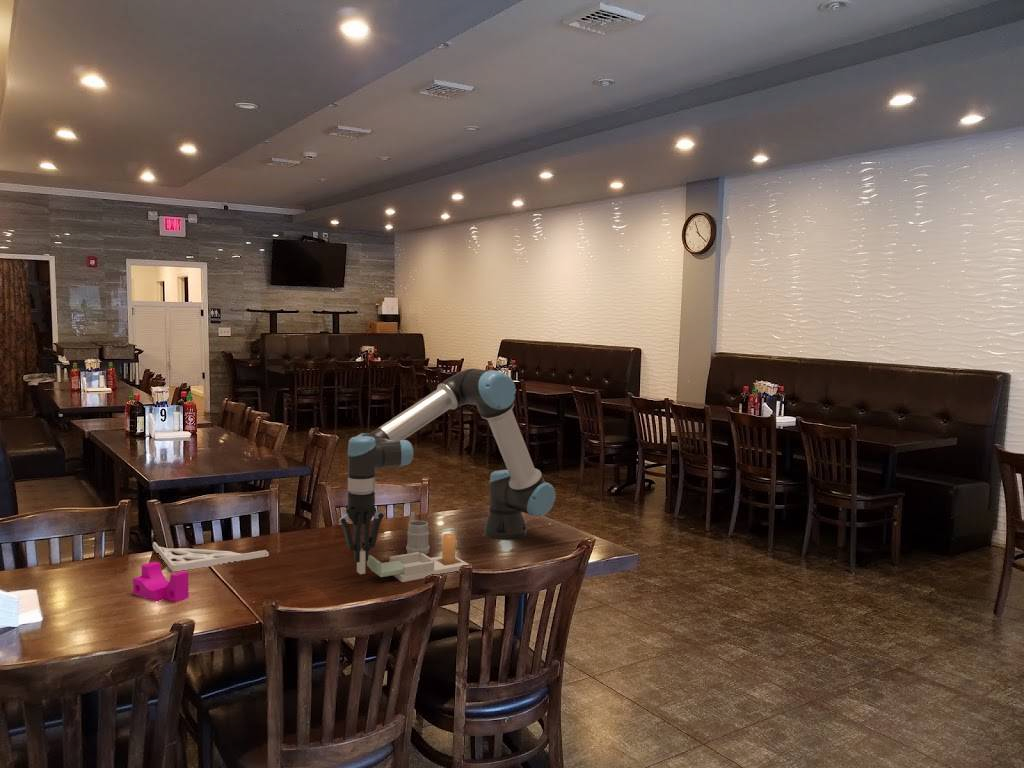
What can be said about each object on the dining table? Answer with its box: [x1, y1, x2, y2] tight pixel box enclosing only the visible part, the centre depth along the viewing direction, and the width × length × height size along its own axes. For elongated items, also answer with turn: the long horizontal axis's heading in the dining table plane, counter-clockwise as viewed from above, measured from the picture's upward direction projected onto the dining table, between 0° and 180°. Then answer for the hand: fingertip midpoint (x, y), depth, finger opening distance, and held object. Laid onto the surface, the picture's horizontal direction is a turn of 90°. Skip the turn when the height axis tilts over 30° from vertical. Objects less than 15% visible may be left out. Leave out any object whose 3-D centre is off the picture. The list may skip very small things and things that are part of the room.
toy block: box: [132, 561, 190, 603], centre depth 201 cm, size 15×6×8 cm, turn 58°
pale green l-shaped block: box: [366, 554, 405, 578], centre depth 219 cm, size 10×8×4 cm
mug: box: [405, 511, 431, 556], centre depth 245 cm, size 8×12×12 cm, turn 27°
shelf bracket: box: [152, 541, 270, 571], centre depth 240 cm, size 28×28×3 cm
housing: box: [388, 552, 470, 583], centre depth 226 cm, size 22×11×4 cm, turn 123°
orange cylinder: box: [441, 533, 457, 565], centre depth 230 cm, size 4×4×10 cm
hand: (361, 572), depth 214 cm, fingers closed
